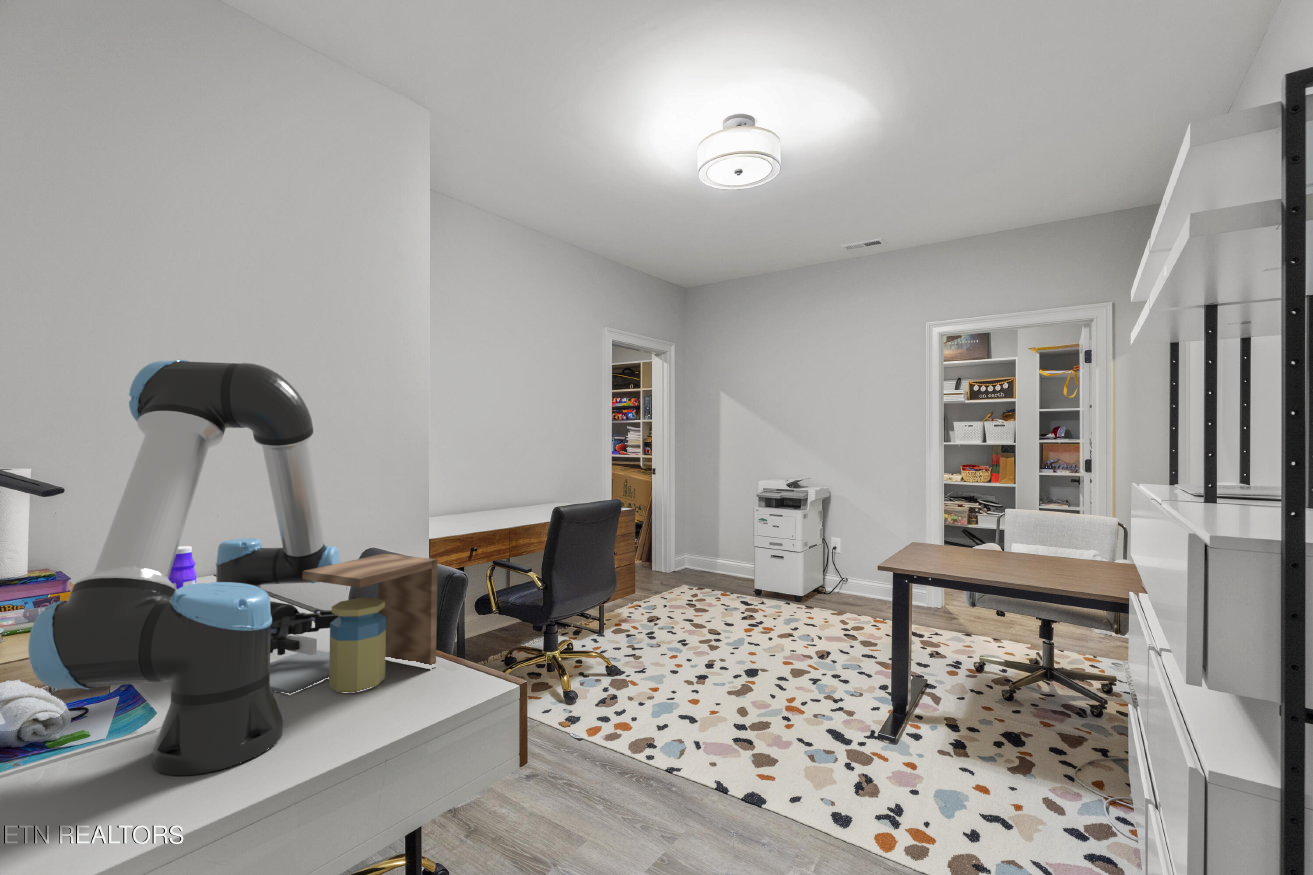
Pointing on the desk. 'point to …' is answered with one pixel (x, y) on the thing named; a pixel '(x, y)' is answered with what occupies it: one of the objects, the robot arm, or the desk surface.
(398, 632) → the shelf
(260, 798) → the desk surface
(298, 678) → the mat
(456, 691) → the desk surface
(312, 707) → the desk surface
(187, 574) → the bottle
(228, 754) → the robot arm
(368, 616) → the jar
